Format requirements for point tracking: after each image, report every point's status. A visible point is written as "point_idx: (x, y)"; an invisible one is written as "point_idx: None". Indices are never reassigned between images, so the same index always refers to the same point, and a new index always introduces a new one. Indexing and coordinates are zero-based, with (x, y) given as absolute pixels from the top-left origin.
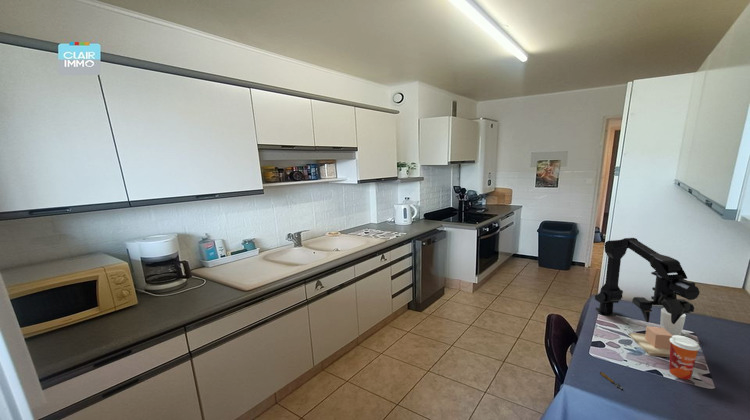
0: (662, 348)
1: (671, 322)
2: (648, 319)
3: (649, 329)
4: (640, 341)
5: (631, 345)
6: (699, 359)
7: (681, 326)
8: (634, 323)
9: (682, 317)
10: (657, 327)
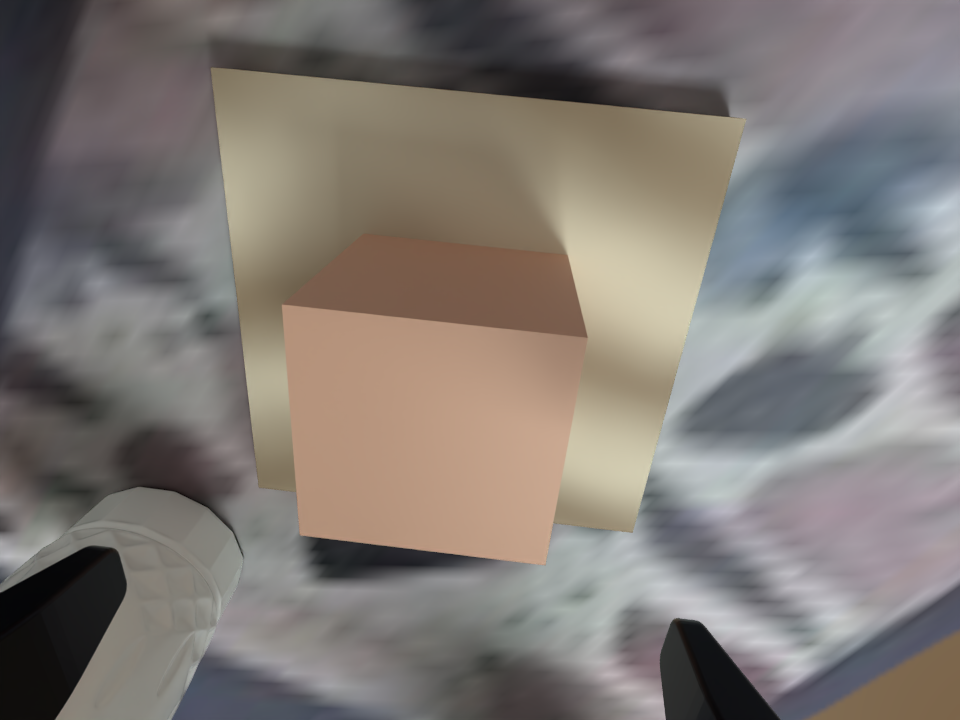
0: (474, 239)
1: None
2: (731, 705)
3: (557, 496)
4: (642, 378)
5: (771, 332)
6: (131, 66)
7: (19, 579)
8: (413, 663)
9: None
10: (384, 539)
